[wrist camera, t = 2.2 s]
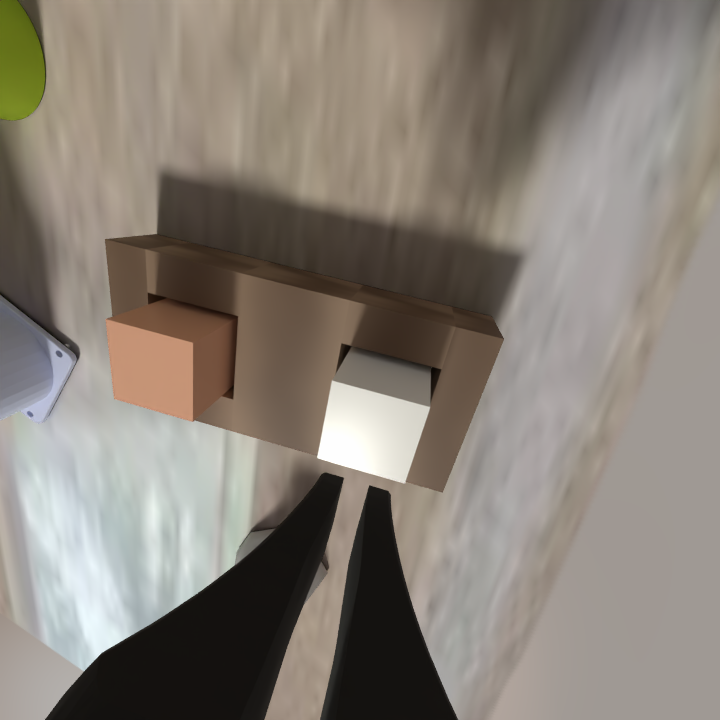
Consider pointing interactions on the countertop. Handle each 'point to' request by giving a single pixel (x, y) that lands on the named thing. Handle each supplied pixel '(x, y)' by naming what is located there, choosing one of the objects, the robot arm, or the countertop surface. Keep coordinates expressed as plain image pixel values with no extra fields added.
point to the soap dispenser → (19, 63)
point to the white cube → (376, 413)
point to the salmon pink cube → (172, 356)
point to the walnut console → (312, 342)
